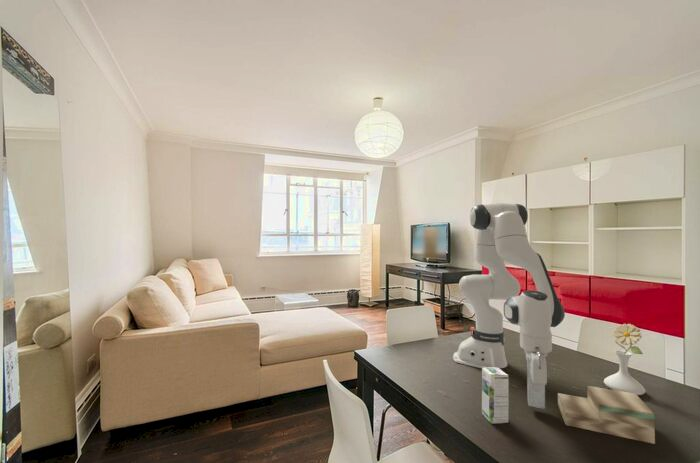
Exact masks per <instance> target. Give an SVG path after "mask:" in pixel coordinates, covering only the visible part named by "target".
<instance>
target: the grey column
mask: <svg viewBox="0 0 700 463" xmlns="http://www.w3.org/2000/svg"><path fill="white" fill-rule="evenodd" d="M540 369H541V368H540ZM526 379H527V380H526V384H527V385H526V393H527V394H526V395H527V397H526V398H527V404H528V405H527V406H528V407H533V408H538V409H542V410H543V409H544V410H546V385H541V391H540V392H538V391H534V388H533V381H532V377H531V374H530V360H529V357H528V356H527V359H526Z"/></svg>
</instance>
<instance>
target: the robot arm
mask: <svg viewBox="0 0 700 463" xmlns="http://www.w3.org/2000/svg"><path fill="white" fill-rule="evenodd" d="M528 218H529V214H528V210H527V208H526V207H525V206H524V205H523V204H519V203H500V202H498V203H491V204H489V203H488V204H482V203H481V204H477V205H474V206H472V208H471V210H470V215H469V221H470V225H471V227H473V228H474V230H475V229H476V230H477V232H476V246H475V250H476V252H475V259H476V262H477V263H478V264H479V265H480V266H482V267H483V268H486V269H487V270H488V274H469V275H464V276H462V277H461V278H460V279H459V282H458V290H459V293H460V294H461V295H462V297H463V298H465V299H466V300H467V301H468V302H469V303H470V304H471V306H472V308H473V311H474V317H475V327H474V326H471V327H470V337H467V339H464V340H463V341H461V342H460V343H459V346H458V349H457V351H456V350H455V352H454V353H453V354H452V355H453V356H452V359H453V361H454V362H455V363H457V364H462V365H465V366H470V367H474V368H478V369H482V368H486V367H496V368H499V369H500V370H501V369H504V368H507V367H508V362H507V358H506V354H505V347H504V345H505V332H504V320H503V318H505V319H506V320H507V321H508V322H509V323H511V324H512V325H517V326H518V325H519V327H520V328H519V346H520V348H521V349H523V350H524V351H523V352H524V353H525V357H526V358H525V359H526V360H527V356H528V357H529V360H530V374H531V377H532V381H533V388H534V391H538V392H540V391H541V385H545V386H546V385H547V383H548V372H547V370H548V369H547V360H546V357H547V356H548V354H549V353H551V352H552V351H553V337H552V336H553V334H552V330H551V328H556V327H557V326H559V325H560V324H561V323H562V322H563V320H564V319H565V315H566V314H565V313H566V312H565V309H564V306H563V304H562V303H561V300H560V299H559V297H558V295H557V293H556V290H555V287H554V285H553V282H552V279H551V278H550V275H549V271H548V269H547V266H546V264H545V262H544V260H543V258H542V255H540V254H539V253H537V251H535V250H534V249H533V247H532V246H531V244H530V242H529V239H528V234H527V230H526V226H525V225H527V222H528ZM505 262H506V263H508V264H510V265H512V266H513V265H514V266H516V267H519V268H521V269H523V270H525V271H526V272H528V274H530V275H531V277H532V280H533V282H534V285H535V288H536V290H533V289H532V290H531V289H529V290H524V291H522V292H521V285H520V282H519V280H518V279H517V278H516V277H515V276H513V275H512V274H511V273H510V271H509V270H508V269H507V267H506V264H505ZM520 293H521V294H520ZM519 294H520V295H519ZM490 300H494V301H495V300H501V301H502V300H504V301H505V302H504V303H503V314H502V312H501V311H500V310H499V309H497V308H496V307H494V306H492V305H490ZM503 315H504V316H503ZM540 368H541V369H540Z"/></svg>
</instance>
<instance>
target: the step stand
mask: <svg viewBox="0 0 700 463" xmlns="http://www.w3.org/2000/svg"><path fill="white" fill-rule="evenodd" d="M586 387H587V388H586V389H587V390H586V394H587V397H582V396H577V395H572V394H568V393H567V394H566V393H561V392H557V406H558V408H559V412H560V414H561V416H562V419H563V421H564V424H565V425H566V426H568V427H572V428H573V427H574V428H579V429H582V430H586V431H587V430H589V431H592V432H596V433H601V434H602V433H603V434H607V435H610V436H611V435H612V436H616V437H621V438H625V439H631V440H634V441H638V442H644V443H647V444H648V443H649V444H653V445H654V444H655V445H656V438H655V437H656V433H655V424H656V423H655V422H656V416H655V413H654V412H653V411H652V409H650V407H648V406H647V404H646V403H645V402H644V401H643V400H642V399H641V398H640V397H639V395H636V394H635V393H629V392H623V391H617V390H613V389H611V388H604V387H599V386H593V385H586Z"/></svg>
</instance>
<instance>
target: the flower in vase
mask: <svg viewBox="0 0 700 463" xmlns="http://www.w3.org/2000/svg"><path fill="white" fill-rule="evenodd" d="M612 333H613V337H614V338H613V339H614V342H615V344H616V345H618V346H619V347H621V348H623V349H624V350H623V349H622V350H621V349H615V350H613V351H614V353H615V354H616V356H617V358H618V363H619V368H618V369H619V370H618V371H617V372H616V373H614V374H611V375H608V376H607V377H605V378H604V380H603V383H604V384H605V386H606V387H607V388H608V389H611V390H617V391H623V392H629V393H635V394H636V395H637V396H642V395H645V393H646V388H645V387H644V386H643V385H642V384H641V383H640V382H638V381H637V379H635V378H633V377H632V376H631V375H630V373H629V371H628V370H629V368H628V366H629V360H630V358H631V357H632V356H633V355H634V354H635V355H644V353H643V352H642V350H641V349H640V348H639V347H638V346H632V345H636V344H637V343H638V342H640V340H641V338H643V335H642V332H641V329H639V327H637V326H635V325H634V324H631V323H627V324H626V323H623V324H619V325H618V326H615V329H614V330H613V332H612ZM625 346H629V347H628V348H627V349H626V347H625ZM629 350H630V351H631V352H630V351H629Z"/></svg>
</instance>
